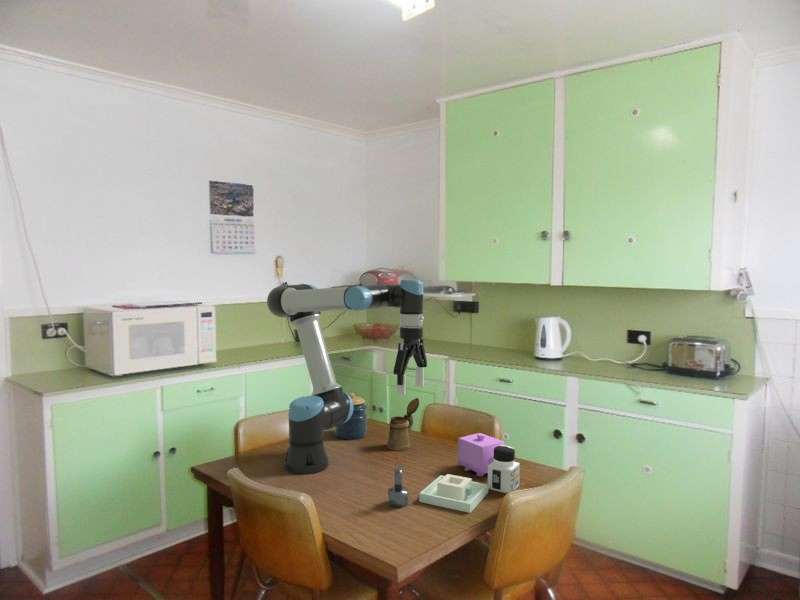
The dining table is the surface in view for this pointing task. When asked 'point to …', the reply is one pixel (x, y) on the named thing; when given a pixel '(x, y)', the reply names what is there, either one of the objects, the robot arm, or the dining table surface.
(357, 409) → the canister
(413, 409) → the wooden mug
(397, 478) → the dark grey stemmed piece
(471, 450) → the teapot
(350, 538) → the dining table surface
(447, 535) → the dining table surface
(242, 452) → the dining table surface
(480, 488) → the tray
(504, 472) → the container
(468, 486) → the cream square-holed block
